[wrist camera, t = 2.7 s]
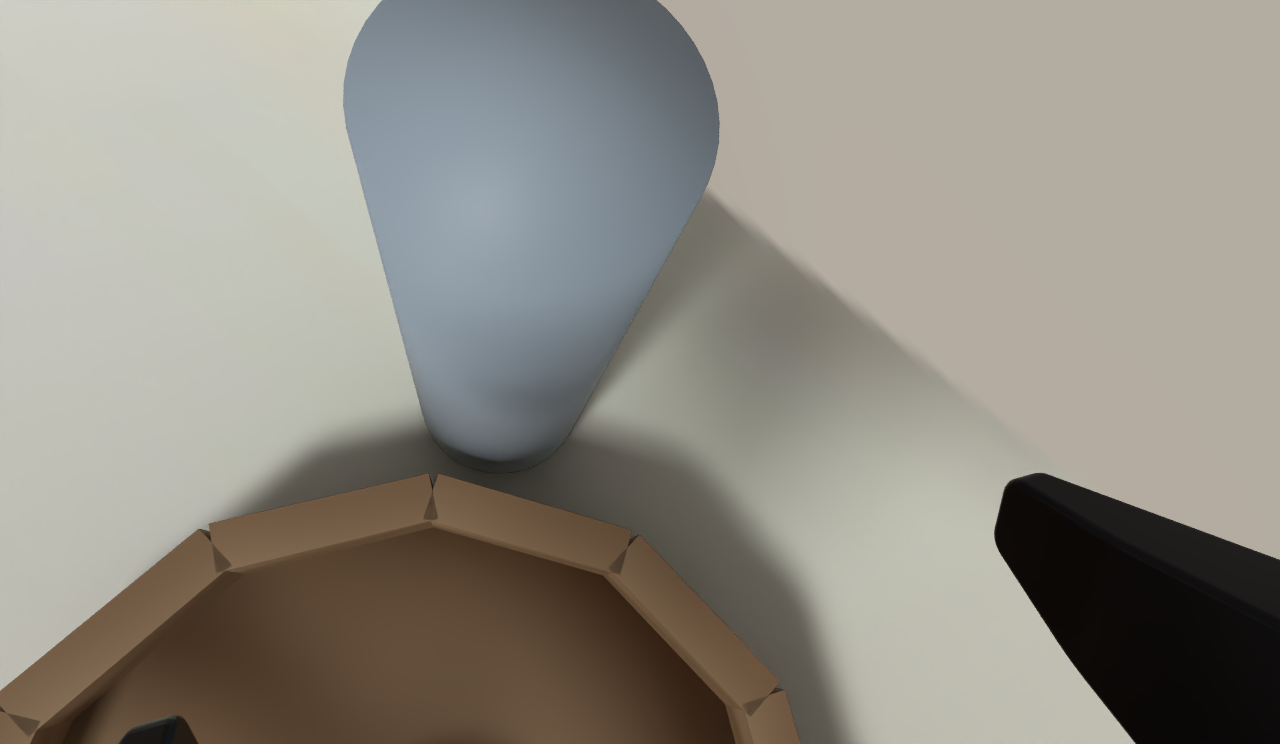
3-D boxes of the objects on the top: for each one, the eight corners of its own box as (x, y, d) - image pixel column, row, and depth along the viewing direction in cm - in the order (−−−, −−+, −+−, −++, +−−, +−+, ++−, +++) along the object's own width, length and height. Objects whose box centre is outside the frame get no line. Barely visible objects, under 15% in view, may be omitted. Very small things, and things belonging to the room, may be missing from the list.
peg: (496, 506, 20) (530, 356, 8) (386, 390, 21) (258, 72, 8) (610, 399, 22) (789, 130, 9) (505, 291, 22) (547, -110, 10)
